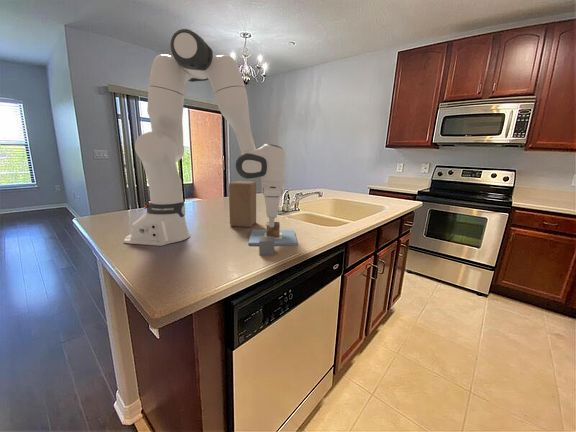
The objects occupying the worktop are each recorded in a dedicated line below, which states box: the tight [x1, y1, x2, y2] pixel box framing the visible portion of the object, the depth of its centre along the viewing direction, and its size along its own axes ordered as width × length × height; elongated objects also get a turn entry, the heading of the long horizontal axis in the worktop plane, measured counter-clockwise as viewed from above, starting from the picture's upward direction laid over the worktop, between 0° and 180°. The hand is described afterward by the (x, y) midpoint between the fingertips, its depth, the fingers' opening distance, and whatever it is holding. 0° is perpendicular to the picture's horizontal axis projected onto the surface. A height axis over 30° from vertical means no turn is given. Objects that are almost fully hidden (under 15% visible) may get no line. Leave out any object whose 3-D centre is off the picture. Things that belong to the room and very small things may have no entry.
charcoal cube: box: [258, 237, 275, 256], centre depth 86 cm, size 5×5×5 cm
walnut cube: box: [266, 221, 281, 238], centre depth 100 cm, size 5×5×5 cm
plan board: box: [247, 229, 298, 246], centre depth 101 cm, size 18×16×1 cm
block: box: [228, 180, 257, 228], centre depth 118 cm, size 10×10×20 cm
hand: (271, 223), depth 100 cm, fingers open, 8 cm apart
